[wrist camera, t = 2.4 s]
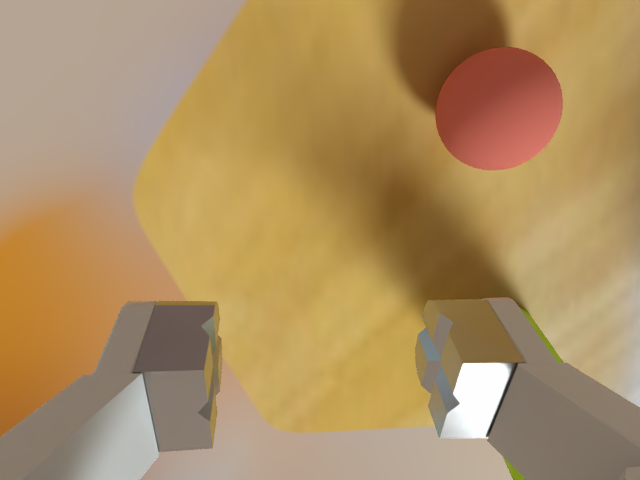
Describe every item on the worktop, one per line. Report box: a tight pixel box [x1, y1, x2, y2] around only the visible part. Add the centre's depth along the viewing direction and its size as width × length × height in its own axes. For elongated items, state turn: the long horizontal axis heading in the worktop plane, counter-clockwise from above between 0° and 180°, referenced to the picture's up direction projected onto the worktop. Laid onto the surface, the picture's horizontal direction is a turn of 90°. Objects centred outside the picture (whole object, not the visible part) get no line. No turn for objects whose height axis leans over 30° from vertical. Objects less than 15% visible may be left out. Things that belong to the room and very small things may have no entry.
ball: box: [436, 47, 563, 170], centre depth 22 cm, size 6×6×6 cm
